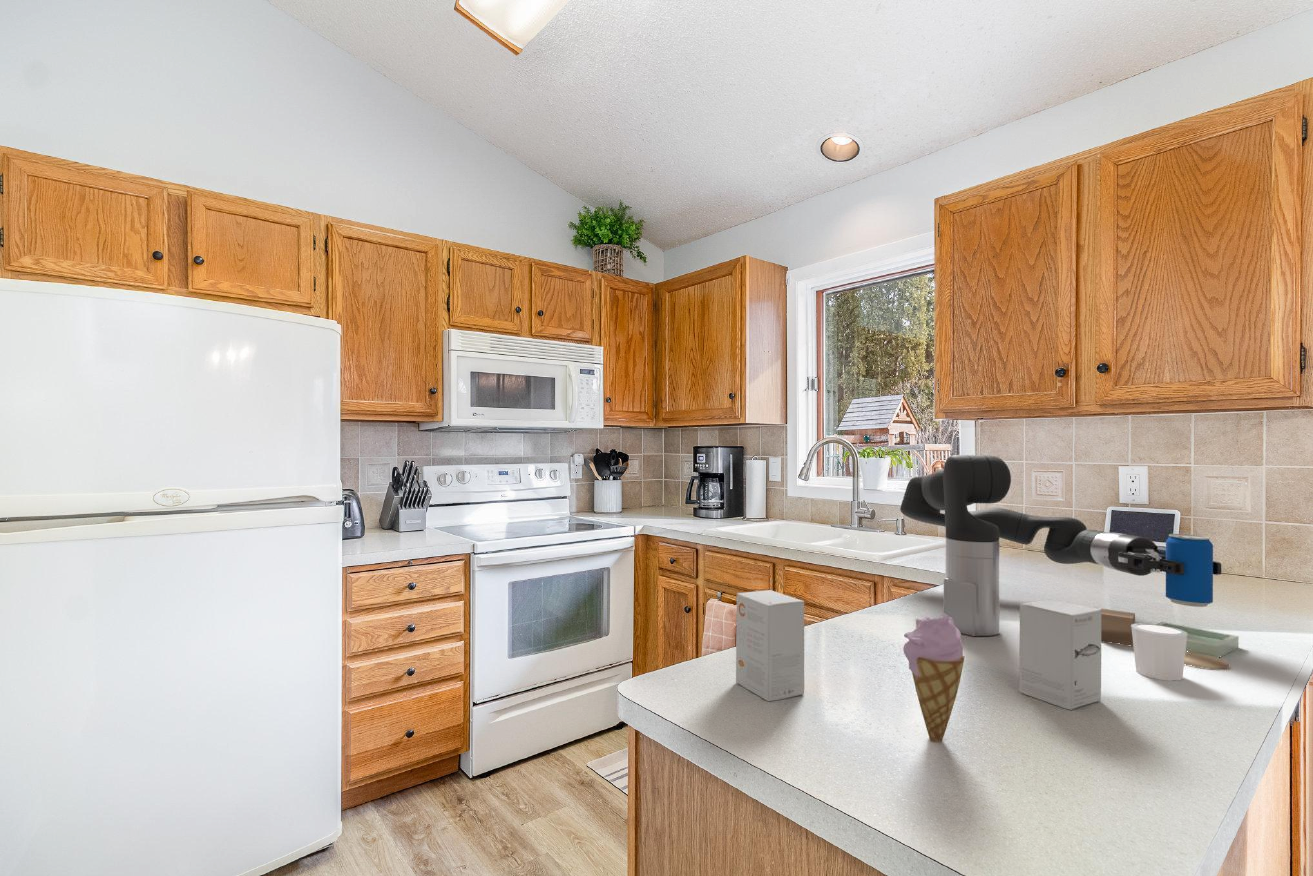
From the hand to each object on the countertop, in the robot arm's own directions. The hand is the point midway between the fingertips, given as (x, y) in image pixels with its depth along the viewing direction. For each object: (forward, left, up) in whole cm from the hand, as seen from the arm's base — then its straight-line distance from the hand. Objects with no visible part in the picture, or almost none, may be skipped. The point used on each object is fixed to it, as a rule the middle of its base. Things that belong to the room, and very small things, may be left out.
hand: (1200, 569), depth 111 cm
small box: (-77, +27, -14) cm, 83 cm away
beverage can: (+1, +2, -7) cm, 7 cm away
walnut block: (-7, +10, -14) cm, 19 cm away
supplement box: (-45, +3, -14) cm, 48 cm away
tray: (+1, +2, -14) cm, 14 cm away
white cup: (-22, -1, -14) cm, 26 cm away
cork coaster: (-9, -2, -14) cm, 17 cm away
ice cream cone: (-72, +5, -14) cm, 74 cm away
